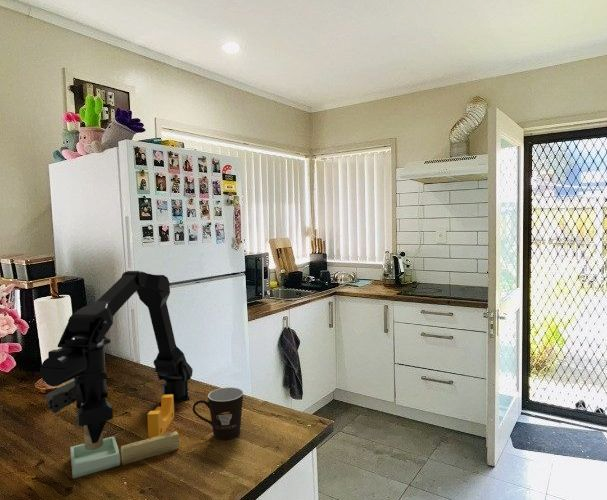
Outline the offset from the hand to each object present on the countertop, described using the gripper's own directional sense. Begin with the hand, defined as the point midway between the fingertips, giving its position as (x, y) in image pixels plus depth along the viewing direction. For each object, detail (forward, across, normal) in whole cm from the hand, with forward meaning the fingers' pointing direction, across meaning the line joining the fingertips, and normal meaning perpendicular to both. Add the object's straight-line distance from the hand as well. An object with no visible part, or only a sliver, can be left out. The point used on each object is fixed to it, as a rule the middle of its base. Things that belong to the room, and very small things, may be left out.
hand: (94, 438), depth 92 cm
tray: (+5, 0, 0) cm, 5 cm away
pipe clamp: (+6, -8, +15) cm, 18 cm away
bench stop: (+5, +4, +11) cm, 13 cm away
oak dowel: (+2, 0, 0) cm, 2 cm away
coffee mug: (+5, +3, +28) cm, 29 cm away
